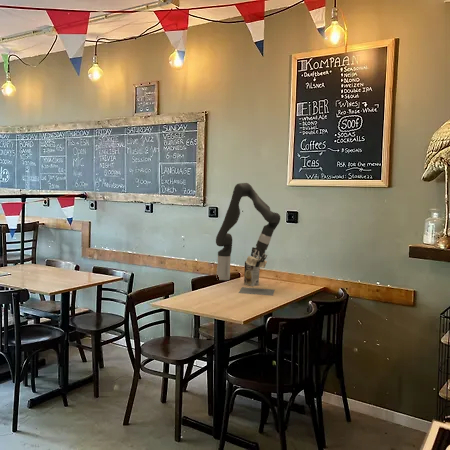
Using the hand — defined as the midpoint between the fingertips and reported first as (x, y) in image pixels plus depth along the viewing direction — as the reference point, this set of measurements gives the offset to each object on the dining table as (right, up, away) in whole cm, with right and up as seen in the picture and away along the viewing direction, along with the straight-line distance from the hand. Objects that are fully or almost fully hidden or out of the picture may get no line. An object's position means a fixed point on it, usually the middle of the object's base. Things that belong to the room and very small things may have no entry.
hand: (254, 265), depth 307 cm
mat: (+2, -17, -1) cm, 17 cm away
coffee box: (-1, -15, +18) cm, 24 cm away
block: (+6, +1, +4) cm, 8 cm away
